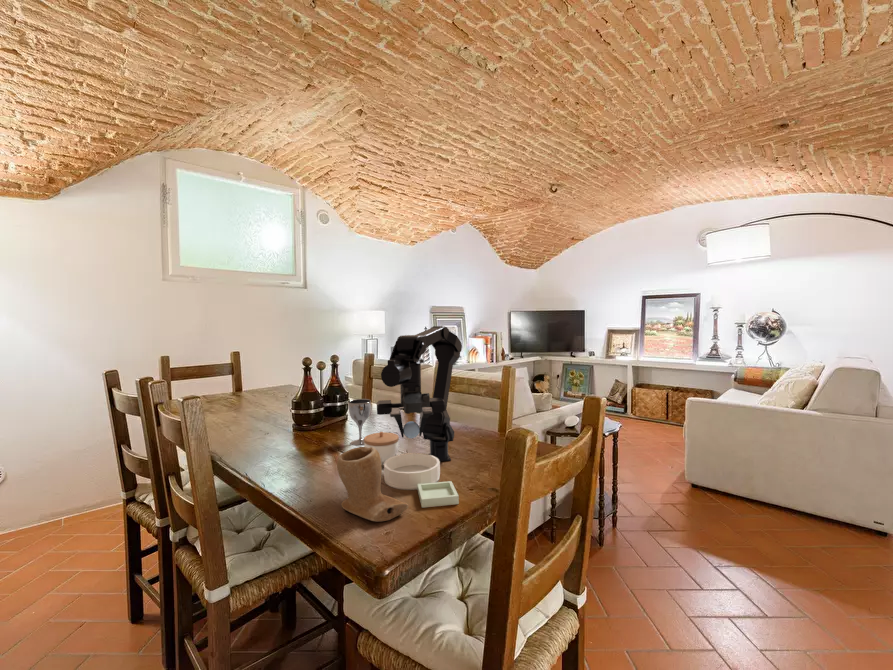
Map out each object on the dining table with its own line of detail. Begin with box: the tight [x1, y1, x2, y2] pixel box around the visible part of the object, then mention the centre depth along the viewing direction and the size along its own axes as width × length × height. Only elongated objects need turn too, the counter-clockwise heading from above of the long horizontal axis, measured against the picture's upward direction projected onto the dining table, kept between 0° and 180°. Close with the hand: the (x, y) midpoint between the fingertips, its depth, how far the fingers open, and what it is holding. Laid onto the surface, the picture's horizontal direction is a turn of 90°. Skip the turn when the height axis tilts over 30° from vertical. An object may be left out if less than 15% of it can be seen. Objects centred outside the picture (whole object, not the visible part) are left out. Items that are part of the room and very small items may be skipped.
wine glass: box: [347, 398, 372, 447], centre depth 149 cm, size 8×8×15 cm
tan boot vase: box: [336, 446, 409, 522], centre depth 96 cm, size 15×12×15 cm
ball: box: [403, 420, 420, 439], centre depth 116 cm, size 5×5×5 cm
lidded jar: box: [363, 431, 400, 466], centre depth 129 cm, size 11×11×9 cm
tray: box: [417, 480, 460, 509], centre depth 104 cm, size 9×9×2 cm
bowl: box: [383, 452, 441, 491], centre depth 116 cm, size 15×15×4 cm
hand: (411, 436), depth 116 cm, fingers closed on ball, 4 cm apart
